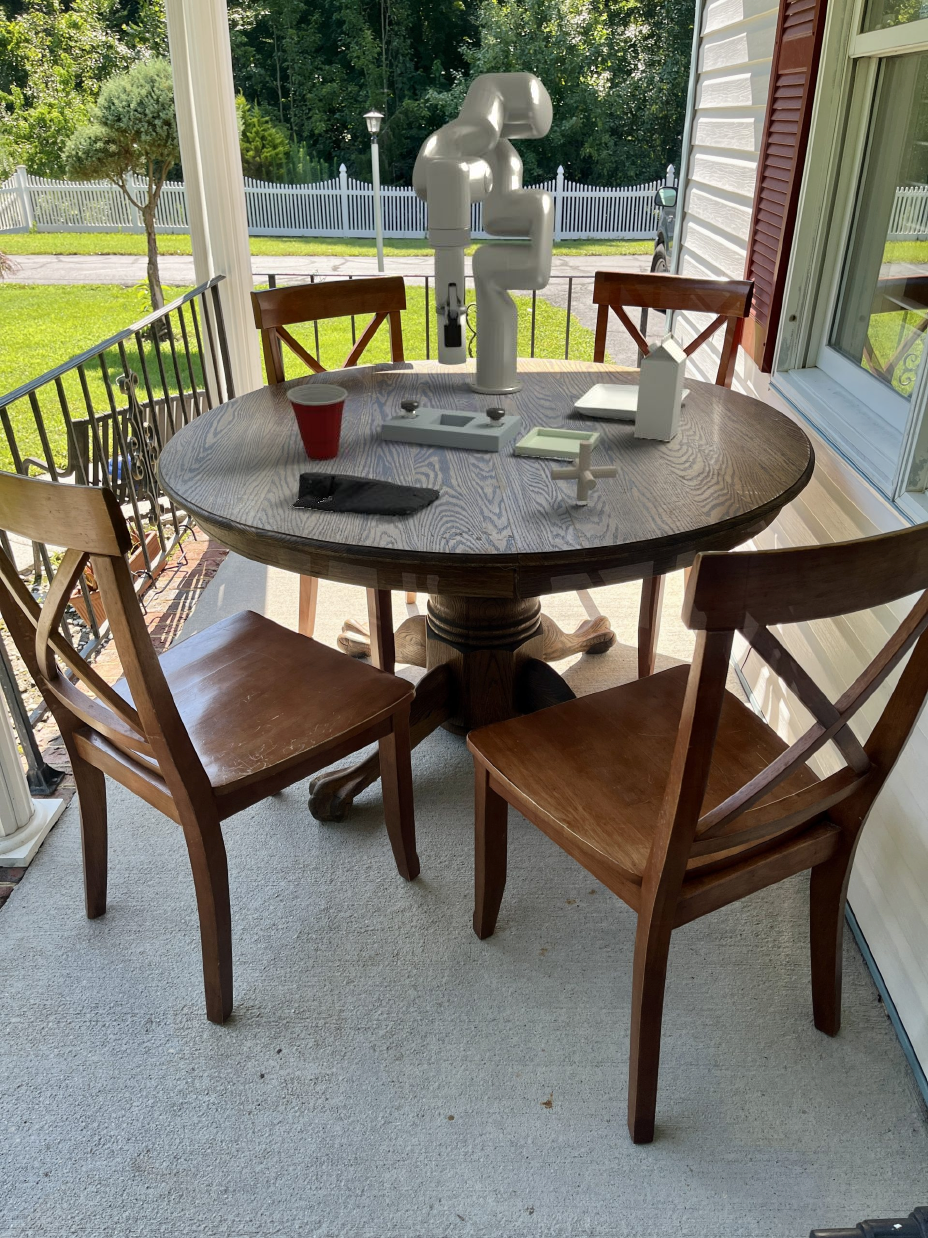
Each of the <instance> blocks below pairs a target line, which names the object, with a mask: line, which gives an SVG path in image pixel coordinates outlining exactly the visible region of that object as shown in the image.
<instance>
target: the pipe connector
mask: <svg viewBox="0 0 928 1238" xmlns="http://www.w3.org/2000/svg"><path fill="white" fill-rule="evenodd" d="M591 447H592V442H590V441H581V442H580V448H579V458H577V459H574V460H573V462H571V467H560V468H559V467H557V468H556V467H555V468H553V467H552V468H551V470H550V471H551V472H550V477H551V480H552V481H562V480H563V481H565V480H566V481H567V480H577V481H576V483H577V484H576V499H577V500H578V501H587V500H588V501H589V491H594V490H595V489H596V487H597V481H596V479H616V477H617V474H618V473H617V467H616V465H615V466H614V465H613V466H612V465H610V466H607V465H606V466H591V461H592V460H591V459H592V456H591V455H592V453H591ZM576 499H575V500H576Z"/></svg>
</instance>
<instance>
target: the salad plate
mask: <svg viewBox="0 0 928 1238" xmlns="http://www.w3.org/2000/svg"><path fill="white" fill-rule="evenodd" d="M638 389H639V385H629V384H628V385H627V384H614V383H613V384H612V383H597V384H594V385H593V386H592V387H591V388H590V389H589V390H588V391H587V392H586V393H584V395H583V396H582V397H580V398H579V399H578V400H577V401H575V403H574V404H573V408H574V409H575V410H576V411H577V412H579V413H580V414H582V415H584V416H588V417H593V416H594V417H593V418H599V417H606V418H605V419H609V418H617V419H616V420H619V419H628V420H627V421H629V420H636V411H637V400H638ZM689 394H690V389H684V388H683V393H682V402H683V400H685V399H686V398H687V396H688V395H689Z"/></svg>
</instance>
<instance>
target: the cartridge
mask: <svg viewBox="0 0 928 1238" xmlns="http://www.w3.org/2000/svg"><path fill="white" fill-rule="evenodd" d="M447 307H450V304H447ZM444 308H445V306H441V309H439V308H438V307H437V305H435V313H436V329H437V331H436V333H437V360H438V364H441V365H445V366H446V365H447V366H455V365H457V366H458V365H463V364H465V363H467V312H468V305H466V304H464V305H463V306H462V307H461V308H460V324H461V331H462V346H461V347H449V348H446V347H445V346H444V325H445V310H444ZM448 312H450V311H448Z"/></svg>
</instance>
